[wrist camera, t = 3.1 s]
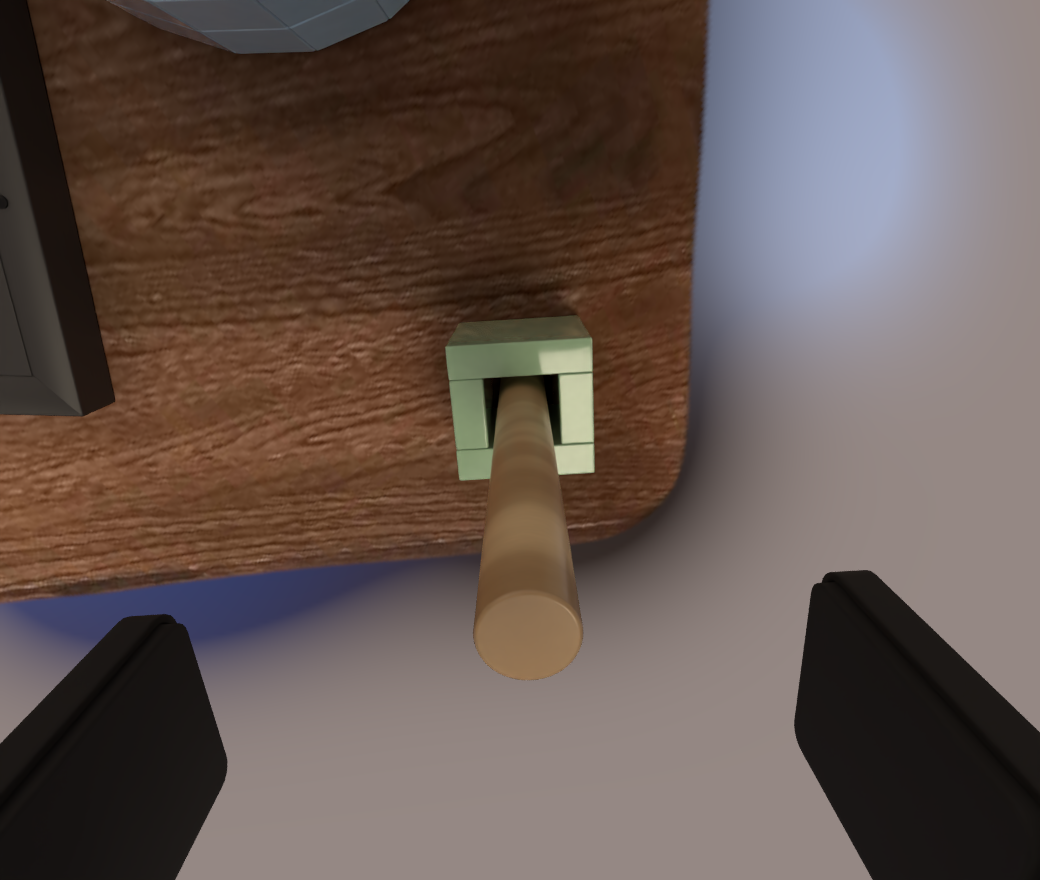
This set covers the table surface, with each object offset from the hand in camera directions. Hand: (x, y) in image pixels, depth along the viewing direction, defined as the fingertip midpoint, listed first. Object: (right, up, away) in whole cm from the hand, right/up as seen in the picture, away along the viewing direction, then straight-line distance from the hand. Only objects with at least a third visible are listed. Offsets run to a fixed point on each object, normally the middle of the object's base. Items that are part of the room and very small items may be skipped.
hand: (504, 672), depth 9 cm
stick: (0, +6, +17) cm, 18 cm away
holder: (0, +6, +17) cm, 18 cm away
